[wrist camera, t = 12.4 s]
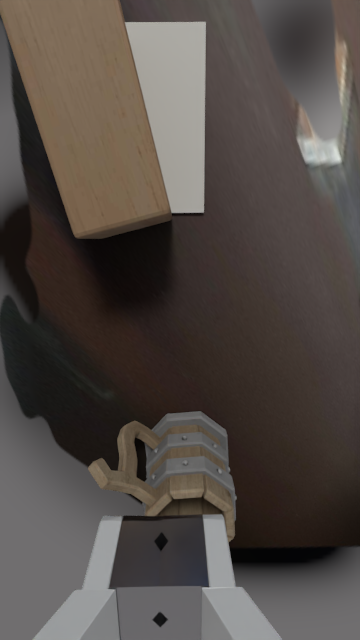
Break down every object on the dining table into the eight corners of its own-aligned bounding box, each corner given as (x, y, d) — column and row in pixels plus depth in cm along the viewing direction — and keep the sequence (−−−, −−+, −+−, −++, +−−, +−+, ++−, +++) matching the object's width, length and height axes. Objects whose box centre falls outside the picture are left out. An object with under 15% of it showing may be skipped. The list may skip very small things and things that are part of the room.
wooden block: (173, 220, 39) (128, 38, 34) (171, 213, 29) (108, -43, 24) (99, 239, 39) (44, 63, 34) (73, 239, 30) (-9, -6, 25)
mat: (203, 212, 39) (203, 212, 39) (87, 214, 39) (86, 213, 38) (205, 23, 34) (205, 21, 33) (71, 24, 34) (70, 22, 33)
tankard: (242, 441, 48) (271, 530, 33) (191, 492, 50) (196, 594, 36) (143, 367, 44) (127, 430, 30) (93, 425, 47) (56, 508, 32)
